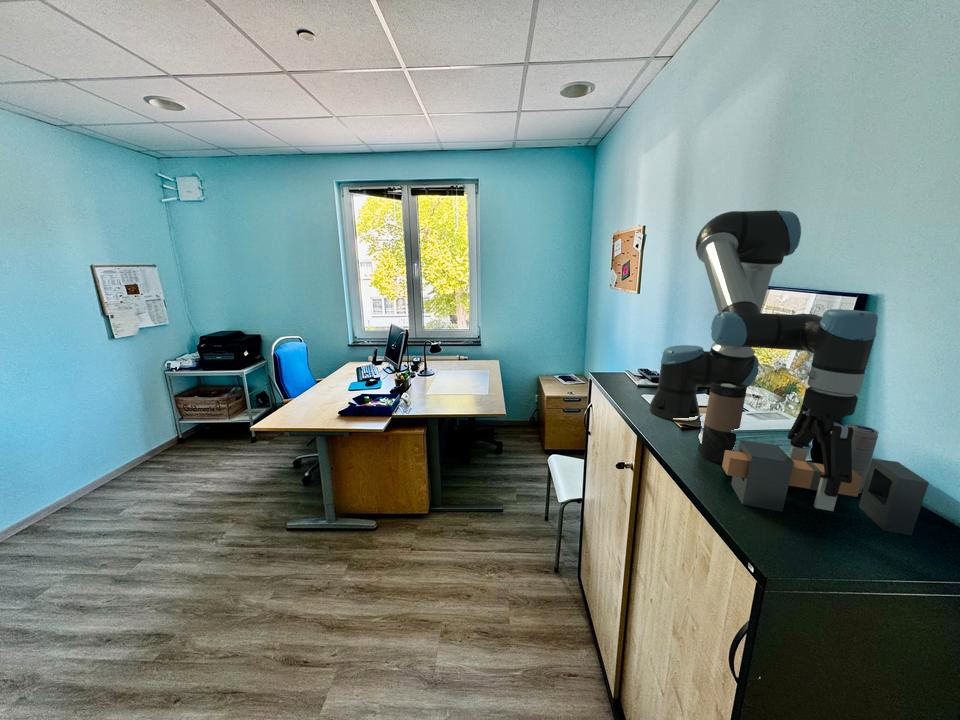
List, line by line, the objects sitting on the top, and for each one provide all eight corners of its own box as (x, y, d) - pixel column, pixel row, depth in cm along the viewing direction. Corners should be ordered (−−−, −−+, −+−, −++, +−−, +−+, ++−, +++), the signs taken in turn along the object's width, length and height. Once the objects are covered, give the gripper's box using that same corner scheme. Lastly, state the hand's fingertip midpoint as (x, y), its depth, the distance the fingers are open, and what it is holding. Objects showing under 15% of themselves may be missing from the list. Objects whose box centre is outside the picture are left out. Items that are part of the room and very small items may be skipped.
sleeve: (731, 484, 86) (739, 439, 83) (767, 490, 83) (777, 445, 81) (742, 504, 78) (752, 456, 76) (782, 511, 76) (794, 462, 74)
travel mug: (738, 465, 94) (753, 389, 90) (705, 462, 96) (718, 387, 91) (725, 452, 101) (739, 380, 97) (694, 448, 103) (706, 378, 98)
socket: (858, 506, 78) (872, 458, 76) (883, 510, 77) (897, 461, 75) (883, 530, 71) (900, 478, 68) (911, 535, 70) (928, 482, 67)
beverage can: (855, 486, 86) (872, 425, 82) (865, 498, 81) (884, 434, 78) (826, 481, 88) (842, 421, 84) (835, 492, 83) (852, 429, 80)
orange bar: (721, 466, 84) (725, 449, 83) (845, 486, 77) (850, 468, 76) (727, 475, 80) (730, 457, 79) (857, 497, 73) (862, 478, 72)
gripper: (782, 373, 85) (763, 460, 90) (843, 408, 62) (814, 522, 67) (823, 377, 82) (801, 465, 87) (901, 415, 60) (867, 532, 65)
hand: (807, 490), depth 77 cm, fingers open, 12 cm apart
